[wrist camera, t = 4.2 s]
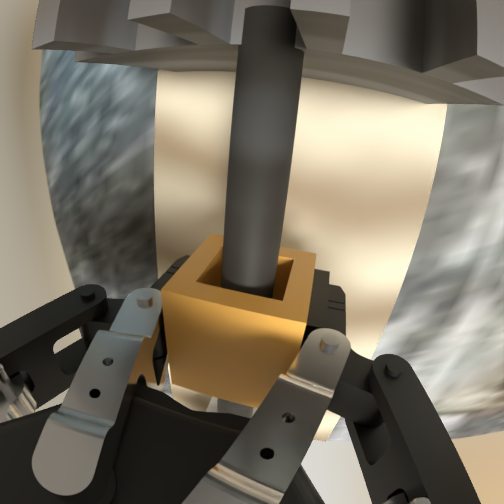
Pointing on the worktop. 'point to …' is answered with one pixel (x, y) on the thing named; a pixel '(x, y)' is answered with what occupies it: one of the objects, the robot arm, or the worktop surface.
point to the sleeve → (234, 325)
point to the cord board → (295, 130)
